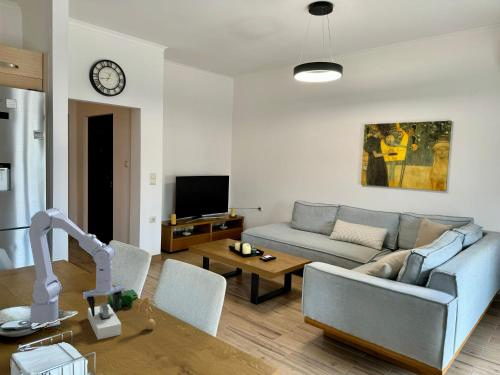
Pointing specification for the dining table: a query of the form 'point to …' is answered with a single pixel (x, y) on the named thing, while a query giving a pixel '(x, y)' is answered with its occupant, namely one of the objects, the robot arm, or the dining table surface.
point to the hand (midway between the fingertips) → (103, 313)
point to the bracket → (104, 311)
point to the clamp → (124, 299)
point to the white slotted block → (104, 323)
